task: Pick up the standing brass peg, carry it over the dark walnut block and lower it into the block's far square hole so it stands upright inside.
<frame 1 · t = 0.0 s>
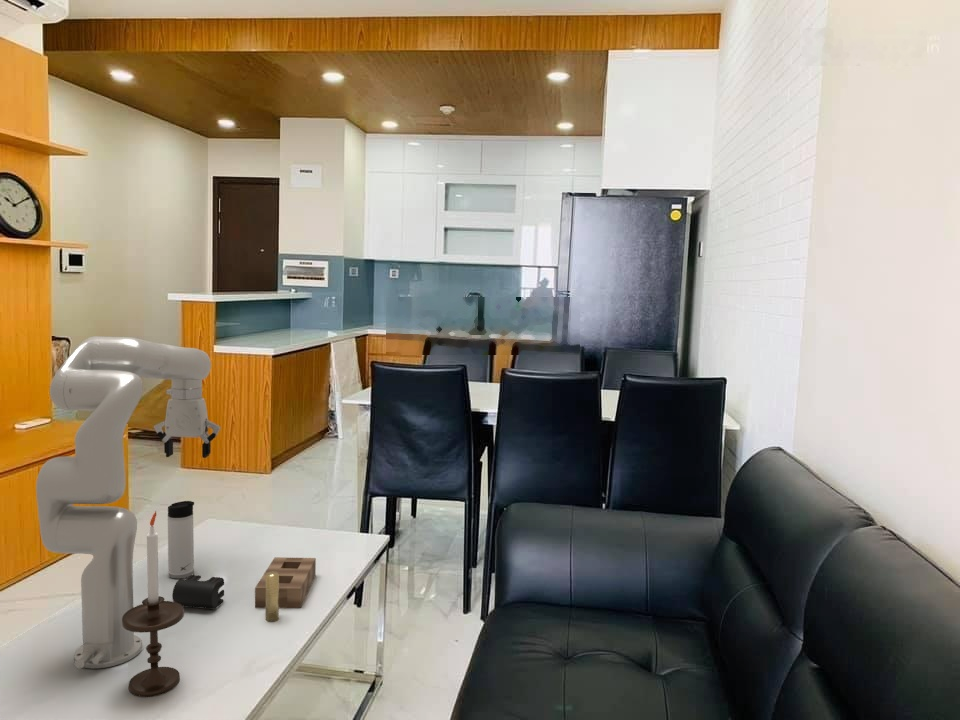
hand: (187, 456, 187), 31 cm above the table, tool pointing down, fingers open, 9 cm apart
hole block: (286, 590, 178), on the table
travel mug: (181, 575, 186), on the table
candlestick: (154, 684, 136), on the table
end cap: (199, 607, 168), on the table
brass peg: (272, 618, 163), on the table
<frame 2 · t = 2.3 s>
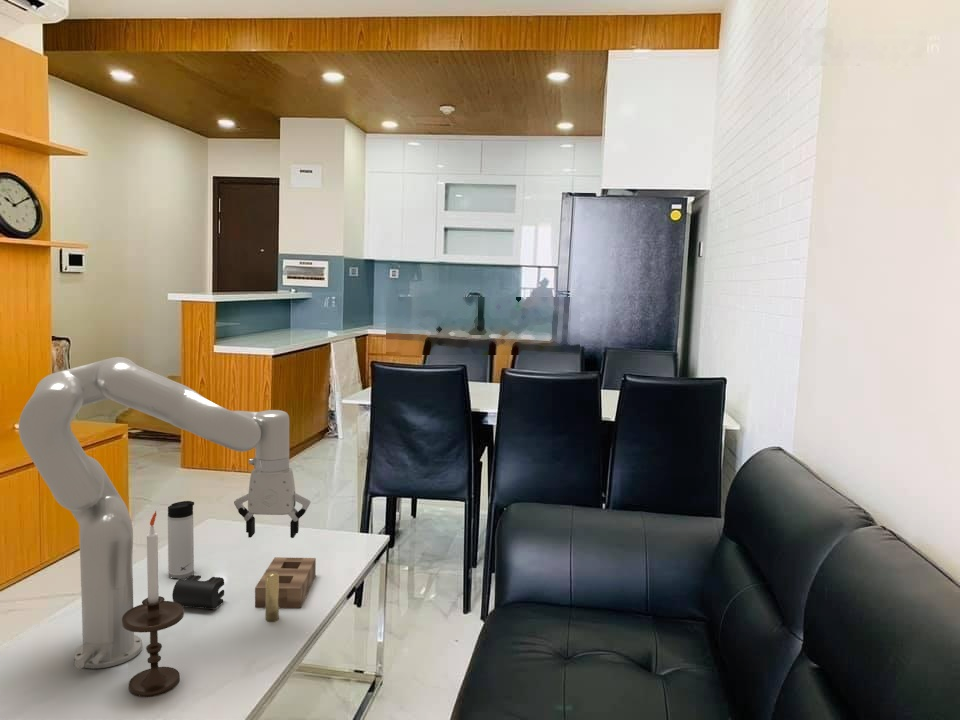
hand: (272, 535, 161), 20 cm above the table, tool pointing down, fingers open, 9 cm apart
nothing on the table moved.
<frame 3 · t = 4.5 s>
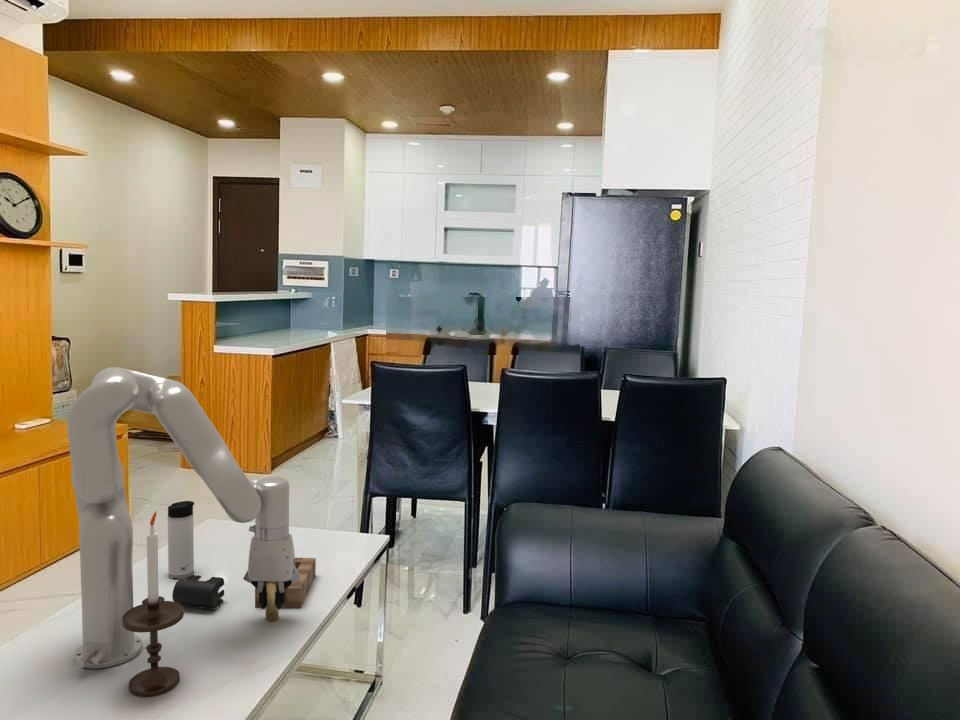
hand: (272, 605, 163), 3 cm above the table, tool pointing down, fingers closed on brass peg, 3 cm apart
brass peg: (272, 618, 163), on the table, touching gripper
everything else where it was.
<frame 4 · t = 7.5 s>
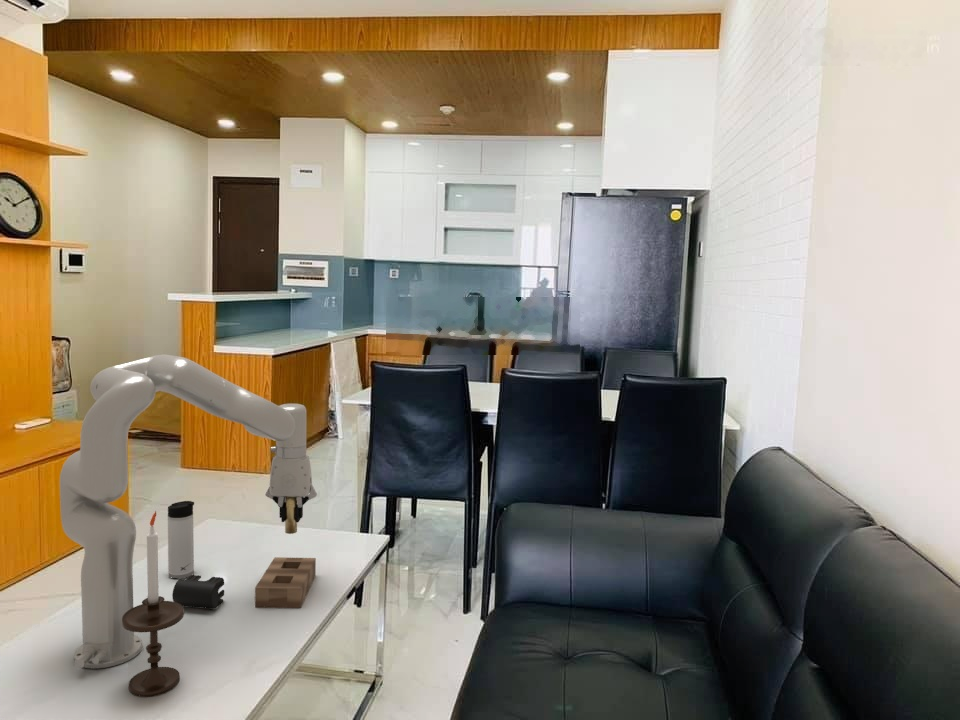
hand: (291, 519, 181), 17 cm above the table, tool pointing down, fingers closed on brass peg, 3 cm apart
brass peg: (291, 531, 181), point 14 cm above the table, touching gripper
everything else where it was.
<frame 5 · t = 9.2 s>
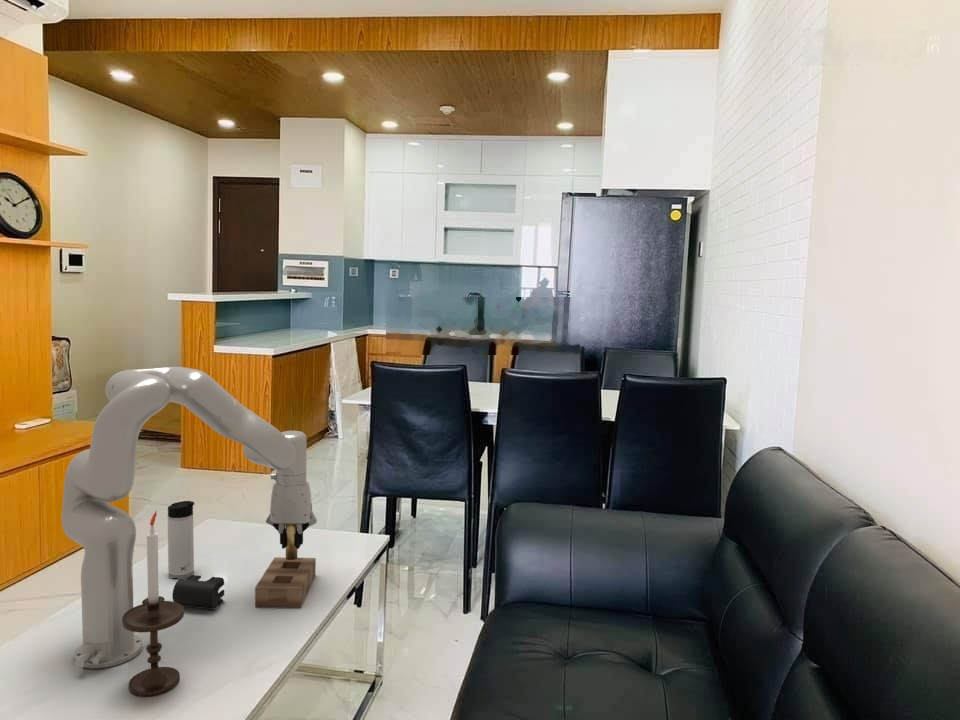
hand: (291, 546, 182), 10 cm above the table, tool pointing down, fingers closed on brass peg, 3 cm apart
brass peg: (291, 557, 182), point 7 cm above the table, touching gripper
everything else where it was.
when the fingers open (6 cm above the table, at t = 10.4 s): brass peg drops 3 cm, resting in hole block.
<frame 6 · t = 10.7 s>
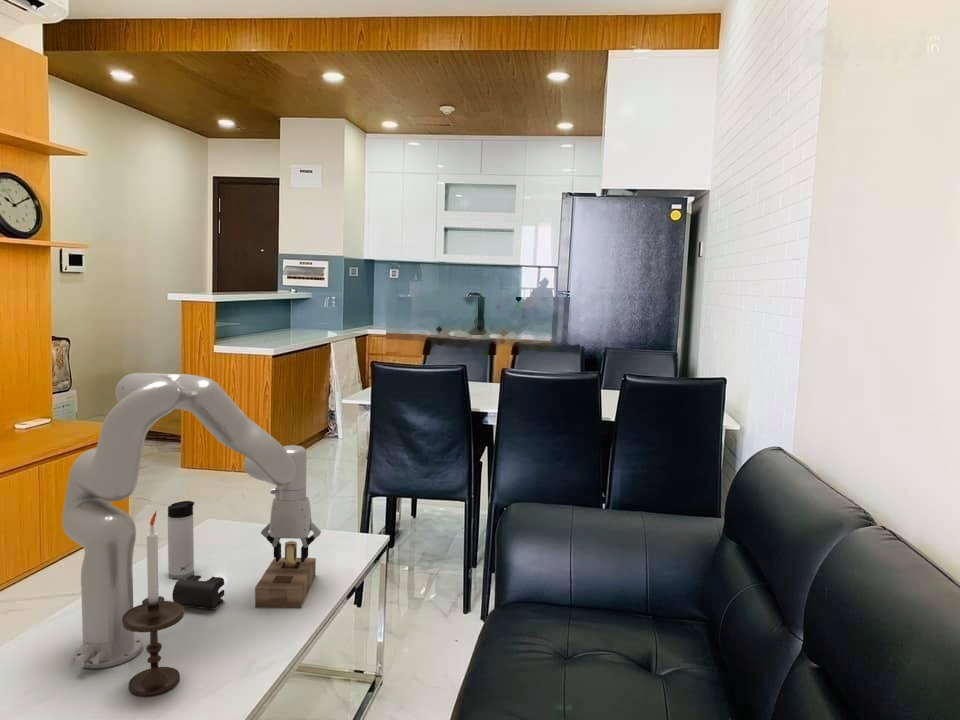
hand: (291, 559, 182), 7 cm above the table, tool pointing down, fingers open, 6 cm apart
brass peg: (290, 583, 183), resting in hole block
everything else where it was.
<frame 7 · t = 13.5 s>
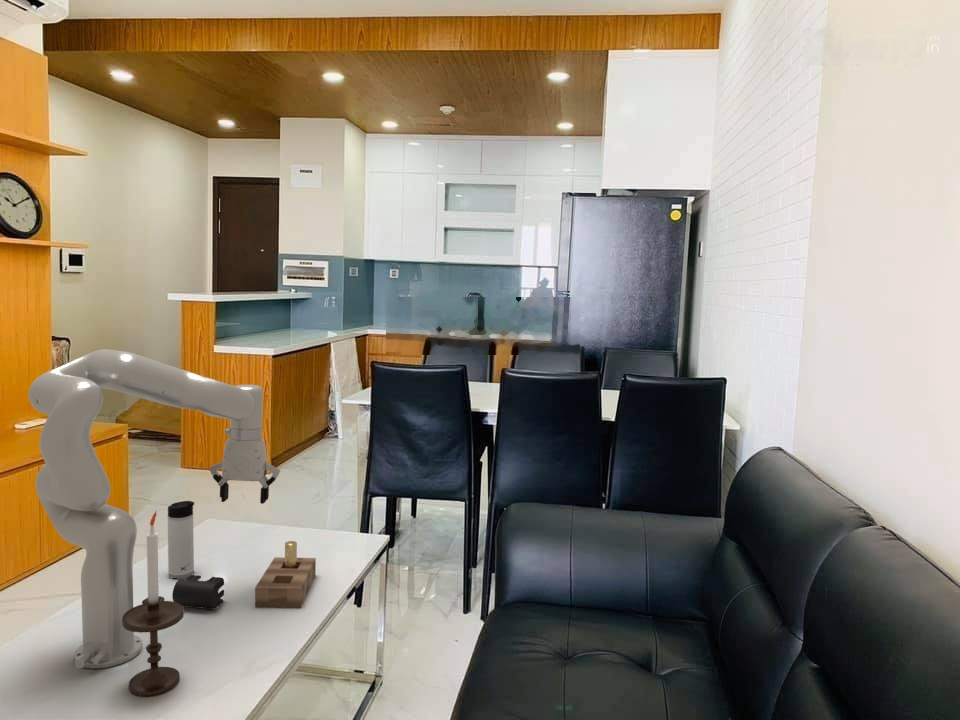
hand: (244, 501, 174), 24 cm above the table, tool pointing down, fingers open, 9 cm apart
nothing on the table moved.
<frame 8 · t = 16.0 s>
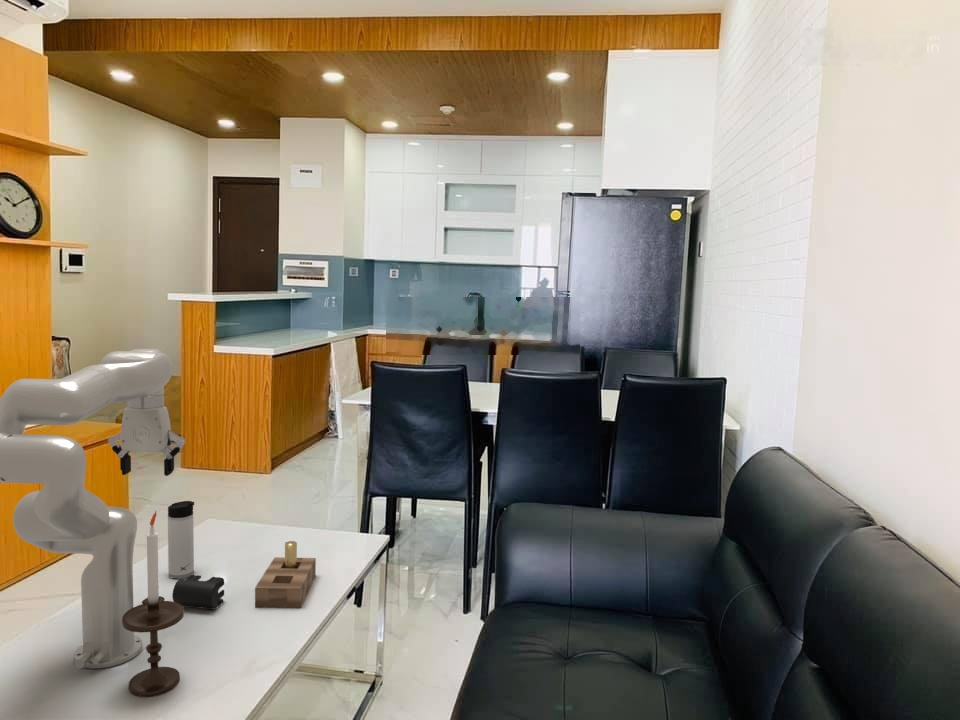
hand: (147, 473, 162), 33 cm above the table, tool pointing down, fingers open, 9 cm apart
nothing on the table moved.
at the end: brass peg 0.1 cm from the target spot on the hole block, point 0.0 cm above the hole block's base; brass peg tilted 0°; the gripper is holding nothing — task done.
